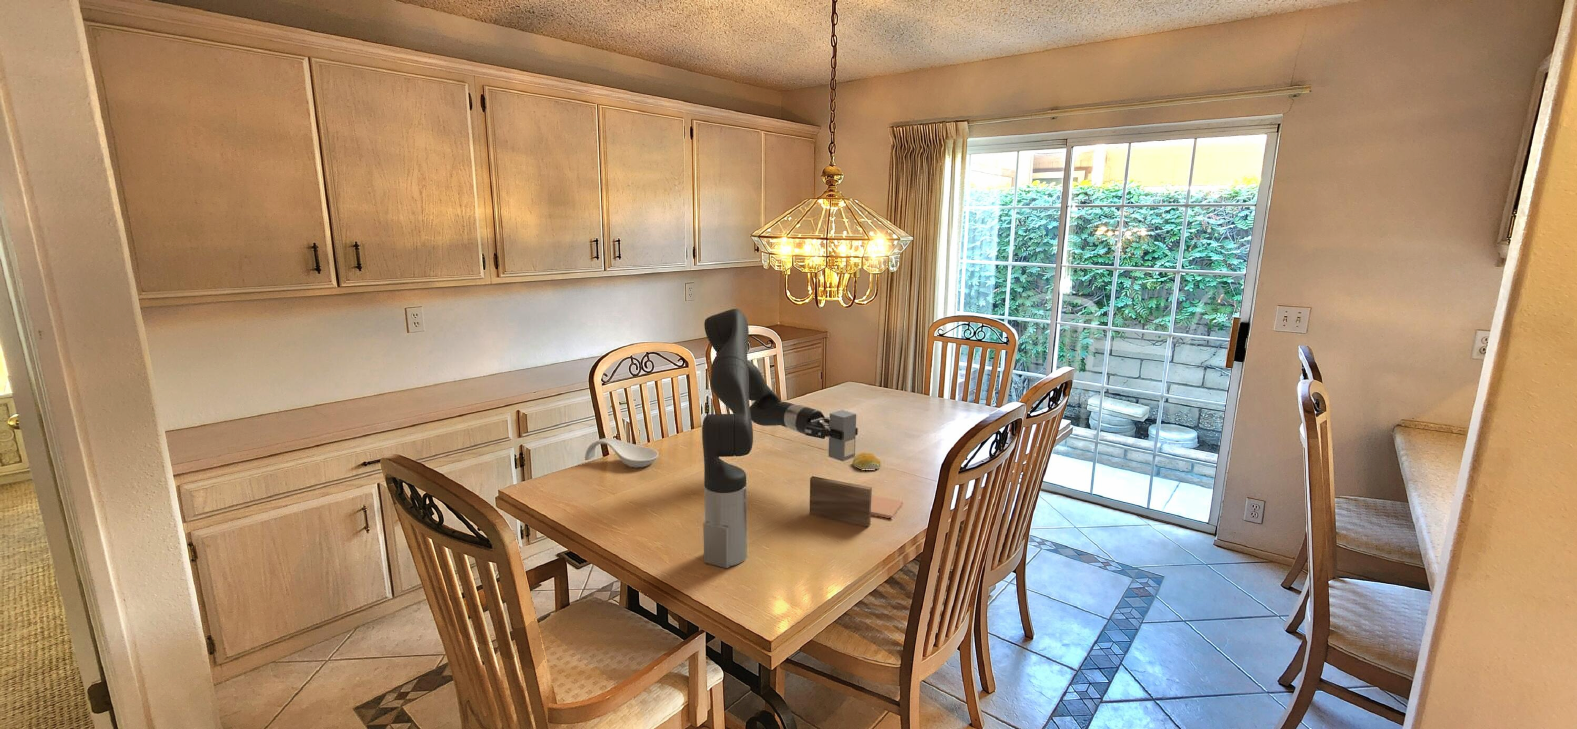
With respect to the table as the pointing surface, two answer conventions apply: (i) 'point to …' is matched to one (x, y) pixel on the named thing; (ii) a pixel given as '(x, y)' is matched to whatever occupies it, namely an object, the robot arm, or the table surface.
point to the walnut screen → (840, 501)
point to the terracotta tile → (884, 506)
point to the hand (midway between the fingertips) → (849, 433)
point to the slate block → (847, 425)
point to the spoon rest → (626, 452)
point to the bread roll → (866, 461)
